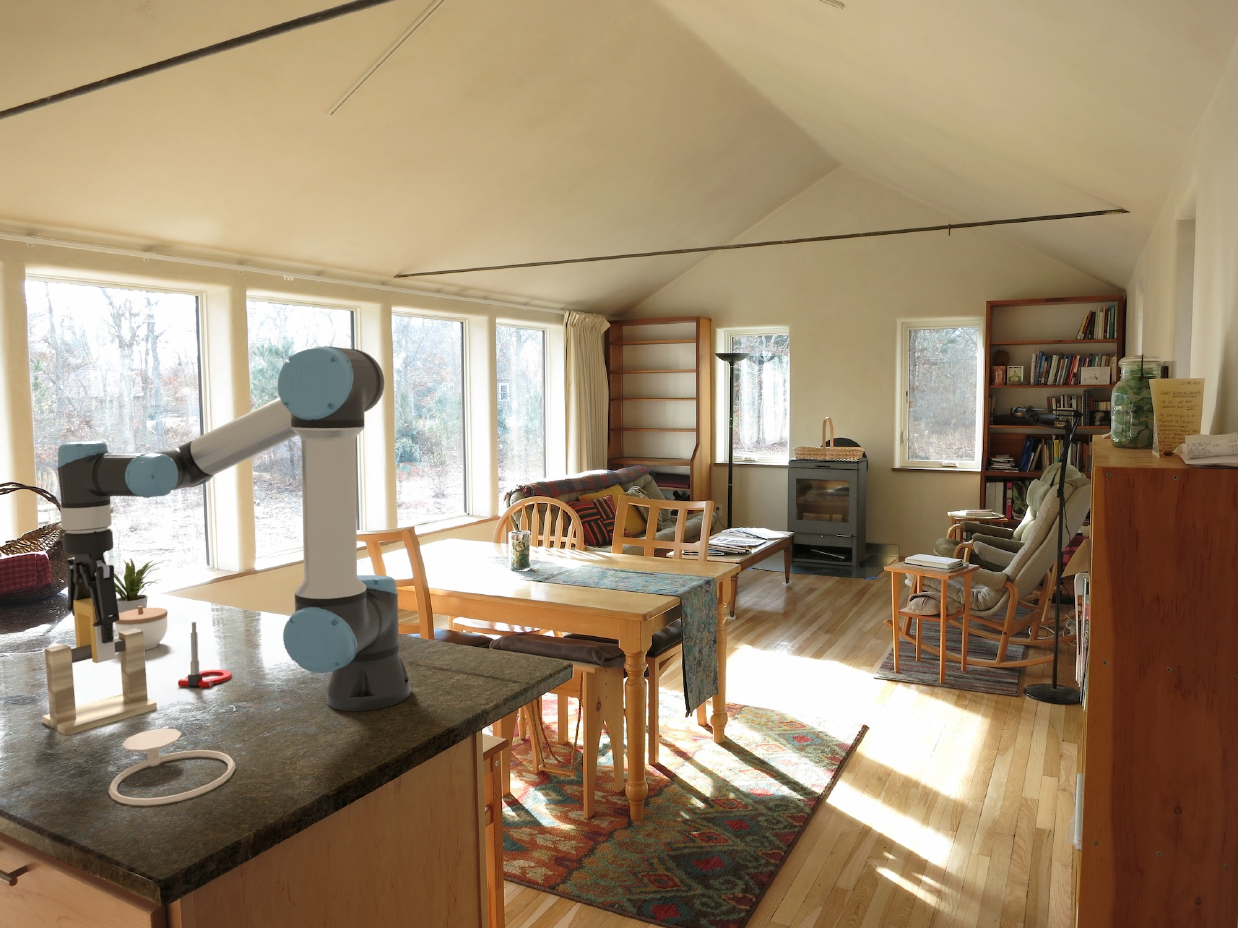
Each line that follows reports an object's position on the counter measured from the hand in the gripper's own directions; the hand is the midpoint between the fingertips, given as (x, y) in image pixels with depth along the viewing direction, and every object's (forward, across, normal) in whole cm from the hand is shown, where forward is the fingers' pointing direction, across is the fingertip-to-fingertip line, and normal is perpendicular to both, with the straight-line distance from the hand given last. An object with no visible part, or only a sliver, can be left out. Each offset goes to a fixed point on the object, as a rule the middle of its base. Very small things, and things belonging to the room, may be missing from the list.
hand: (95, 655), depth 156 cm
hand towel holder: (+11, -35, +4) cm, 37 cm away
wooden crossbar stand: (+11, 0, 0) cm, 11 cm away
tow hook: (+11, +3, -21) cm, 24 cm away
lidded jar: (+11, +38, -24) cm, 46 cm away
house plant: (+12, +61, -33) cm, 70 cm away
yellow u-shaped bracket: (0, 0, 0) cm, 0 cm away
